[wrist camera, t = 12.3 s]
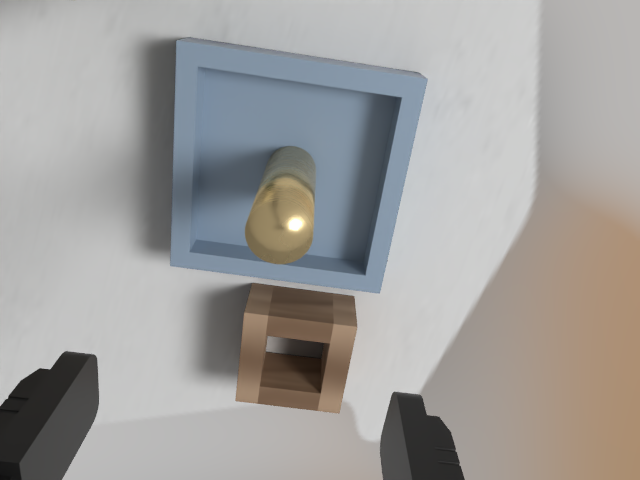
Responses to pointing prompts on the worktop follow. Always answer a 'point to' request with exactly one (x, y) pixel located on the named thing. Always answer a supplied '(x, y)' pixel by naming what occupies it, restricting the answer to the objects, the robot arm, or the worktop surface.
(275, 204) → the pin
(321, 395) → the bracket
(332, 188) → the tray
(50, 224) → the worktop surface
